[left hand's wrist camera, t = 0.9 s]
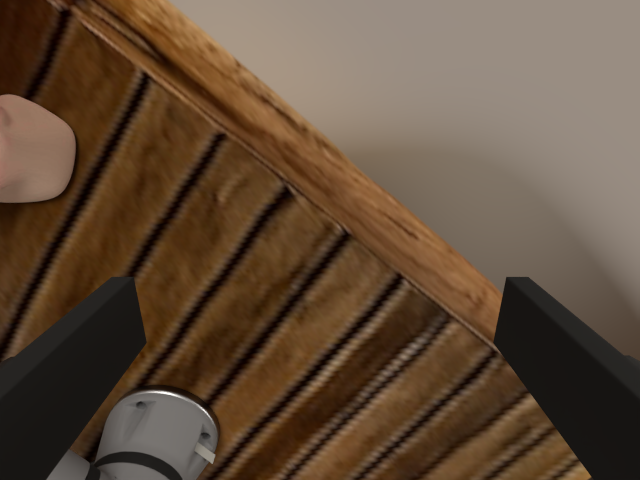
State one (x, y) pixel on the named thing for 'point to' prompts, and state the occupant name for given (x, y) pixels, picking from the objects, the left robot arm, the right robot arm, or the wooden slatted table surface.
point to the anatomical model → (33, 152)
